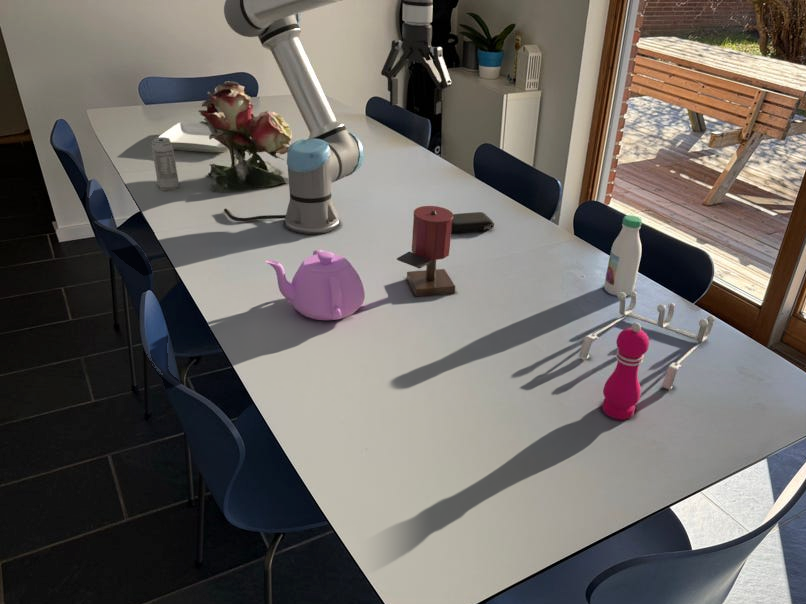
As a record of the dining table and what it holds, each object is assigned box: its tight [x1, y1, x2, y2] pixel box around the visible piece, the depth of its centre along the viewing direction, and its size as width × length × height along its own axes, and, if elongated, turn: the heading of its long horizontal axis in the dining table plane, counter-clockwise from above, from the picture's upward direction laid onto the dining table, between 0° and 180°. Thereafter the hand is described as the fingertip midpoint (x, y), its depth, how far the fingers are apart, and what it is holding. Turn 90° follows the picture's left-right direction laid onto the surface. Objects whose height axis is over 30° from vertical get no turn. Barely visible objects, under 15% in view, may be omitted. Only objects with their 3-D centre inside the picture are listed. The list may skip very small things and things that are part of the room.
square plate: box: [156, 121, 230, 154], centre depth 265 cm, size 27×27×4 cm
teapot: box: [265, 249, 366, 321], centre depth 165 cm, size 22×22×14 cm
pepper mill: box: [602, 322, 650, 420], centre depth 138 cm, size 7×7×20 cm
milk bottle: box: [603, 214, 643, 297], centre depth 183 cm, size 8×8×20 cm
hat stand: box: [406, 260, 456, 297], centre depth 178 cm, size 10×10×19 cm
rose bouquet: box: [197, 80, 293, 193], centre depth 232 cm, size 26×29×30 cm
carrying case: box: [451, 211, 495, 234], centre depth 216 cm, size 11×3×15 cm
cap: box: [396, 205, 454, 270], centre depth 173 cm, size 14×10×11 cm
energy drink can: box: [150, 136, 180, 191], centre depth 223 cm, size 6×6×15 cm
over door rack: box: [578, 290, 716, 391], centre depth 162 cm, size 22×29×10 cm
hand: (415, 109), depth 194 cm, fingers open, 13 cm apart
